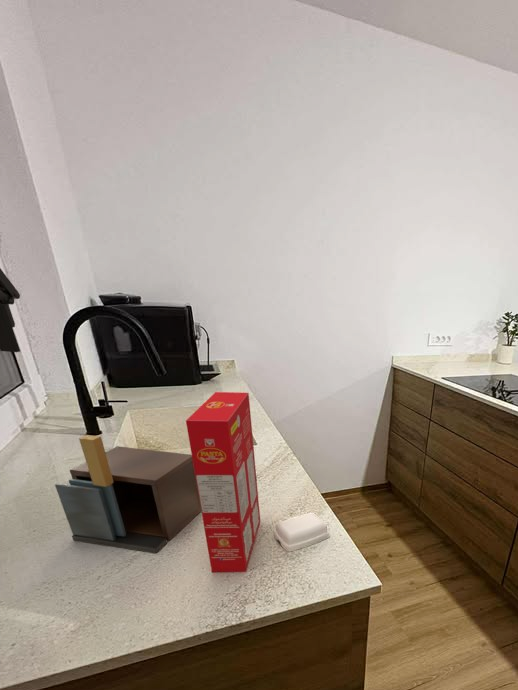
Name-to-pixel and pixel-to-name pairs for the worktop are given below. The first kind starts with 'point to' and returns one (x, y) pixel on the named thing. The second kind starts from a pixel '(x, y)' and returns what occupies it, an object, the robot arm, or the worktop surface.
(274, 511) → the worktop surface
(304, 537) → the soap
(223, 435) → the food packaging
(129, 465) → the cabinet
